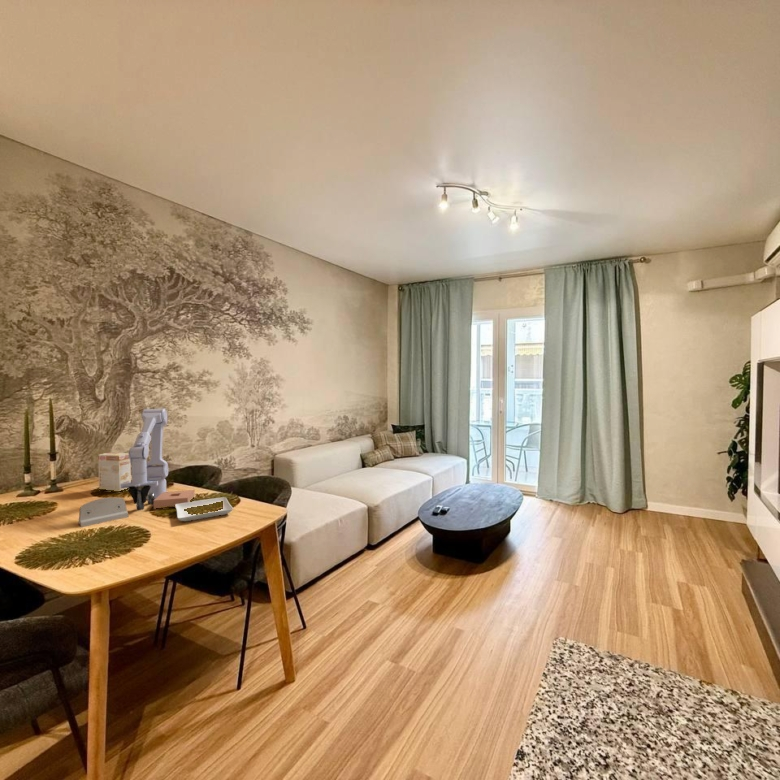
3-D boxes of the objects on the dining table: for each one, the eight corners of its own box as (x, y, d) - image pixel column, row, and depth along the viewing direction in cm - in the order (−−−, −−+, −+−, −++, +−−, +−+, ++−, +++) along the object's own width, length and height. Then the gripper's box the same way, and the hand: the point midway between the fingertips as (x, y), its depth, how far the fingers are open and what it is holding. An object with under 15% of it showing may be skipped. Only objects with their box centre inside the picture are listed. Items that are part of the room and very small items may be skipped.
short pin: (148, 502, 187) (148, 493, 187) (155, 502, 188) (155, 493, 188) (146, 504, 185) (146, 495, 184) (153, 504, 185) (153, 494, 185)
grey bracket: (80, 527, 156) (78, 502, 158) (78, 528, 159) (76, 503, 162) (129, 516, 168) (126, 493, 170) (127, 518, 171) (124, 495, 173)
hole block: (163, 500, 191) (162, 492, 191) (194, 497, 195) (194, 489, 195) (153, 509, 178) (153, 500, 177) (187, 506, 181) (187, 497, 181)
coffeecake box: (131, 489, 212) (130, 453, 212) (119, 492, 206) (118, 455, 205) (111, 487, 217) (110, 451, 217) (98, 490, 210) (97, 454, 210)
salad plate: (234, 515, 168) (233, 507, 168) (177, 526, 157) (177, 517, 157) (225, 503, 186) (225, 496, 186) (174, 511, 175) (174, 504, 175)
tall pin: (137, 508, 179) (137, 488, 179) (144, 507, 180) (144, 488, 180) (135, 510, 176) (135, 490, 176) (142, 509, 177) (142, 489, 177)
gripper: (117, 476, 172) (118, 506, 172) (154, 473, 176) (155, 503, 176) (123, 472, 179) (124, 502, 179) (159, 470, 182) (160, 499, 183)
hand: (140, 502), depth 178 cm, fingers closed on tall pin, 3 cm apart
